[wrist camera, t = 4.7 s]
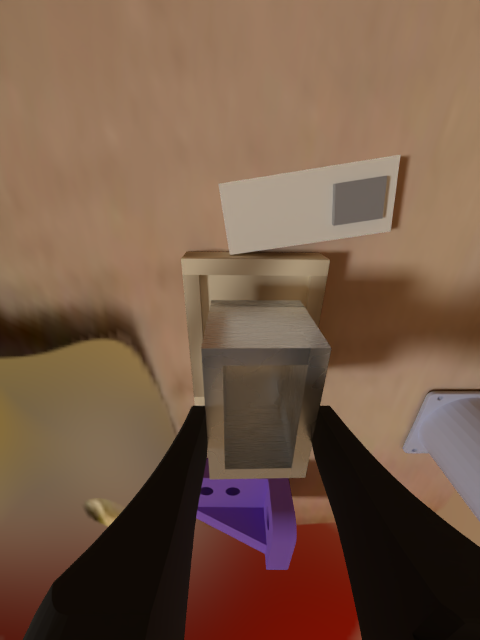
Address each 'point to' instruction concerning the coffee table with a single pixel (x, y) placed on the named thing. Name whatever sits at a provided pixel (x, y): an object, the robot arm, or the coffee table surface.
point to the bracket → (252, 514)
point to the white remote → (310, 205)
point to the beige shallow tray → (246, 289)
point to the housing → (261, 387)
